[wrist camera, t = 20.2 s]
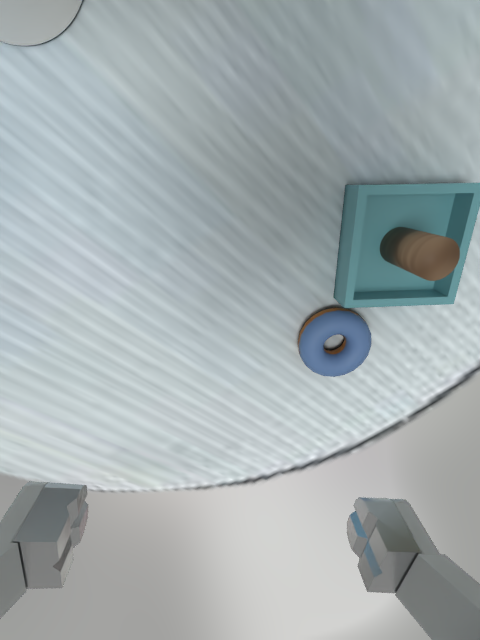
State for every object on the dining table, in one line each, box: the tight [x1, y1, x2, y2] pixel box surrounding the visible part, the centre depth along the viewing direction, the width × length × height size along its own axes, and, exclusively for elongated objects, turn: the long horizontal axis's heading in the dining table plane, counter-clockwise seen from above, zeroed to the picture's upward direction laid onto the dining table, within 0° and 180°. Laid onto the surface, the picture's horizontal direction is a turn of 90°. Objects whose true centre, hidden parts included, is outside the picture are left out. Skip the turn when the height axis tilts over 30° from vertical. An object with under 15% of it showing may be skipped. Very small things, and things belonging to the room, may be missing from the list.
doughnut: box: [298, 307, 371, 377], centre depth 44 cm, size 10×10×5 cm
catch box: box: [334, 183, 480, 308], centre depth 39 cm, size 14×14×4 cm
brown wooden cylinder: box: [380, 227, 460, 281], centre depth 36 cm, size 4×4×8 cm
